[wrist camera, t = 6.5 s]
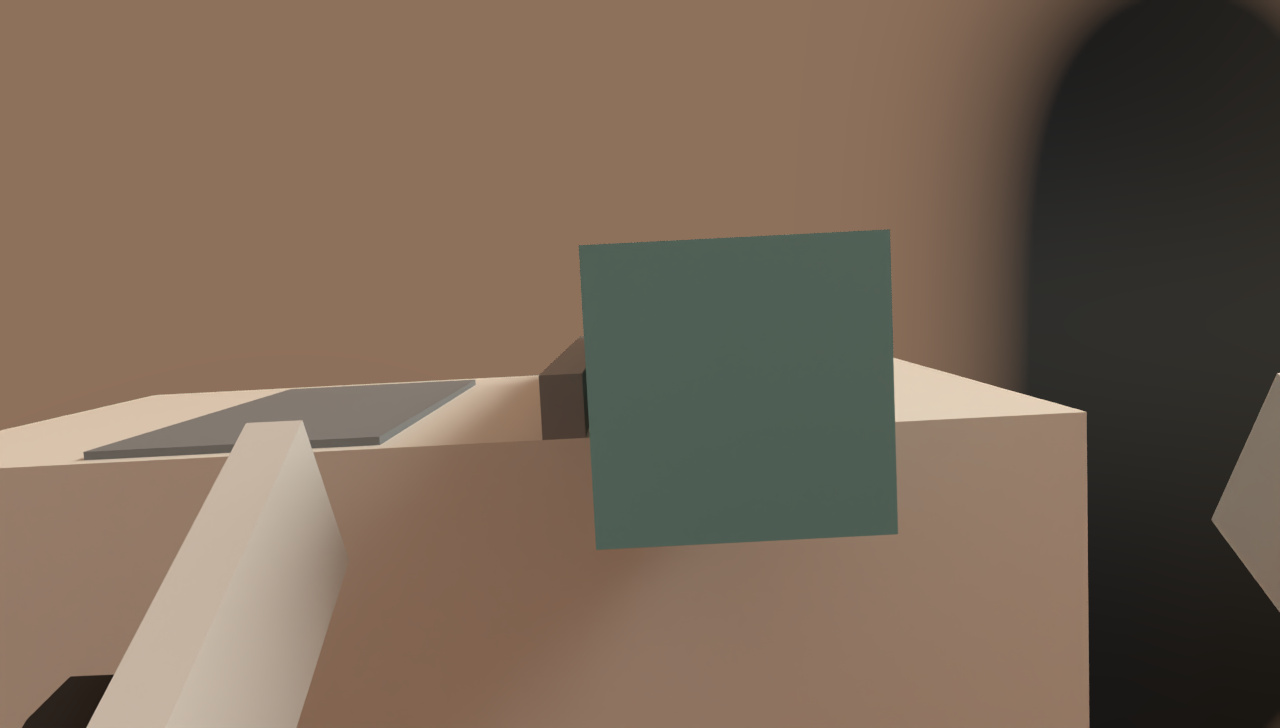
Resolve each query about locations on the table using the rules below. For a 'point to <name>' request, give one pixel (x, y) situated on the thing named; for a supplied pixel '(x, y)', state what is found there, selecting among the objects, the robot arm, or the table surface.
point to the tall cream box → (576, 565)
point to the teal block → (740, 389)
